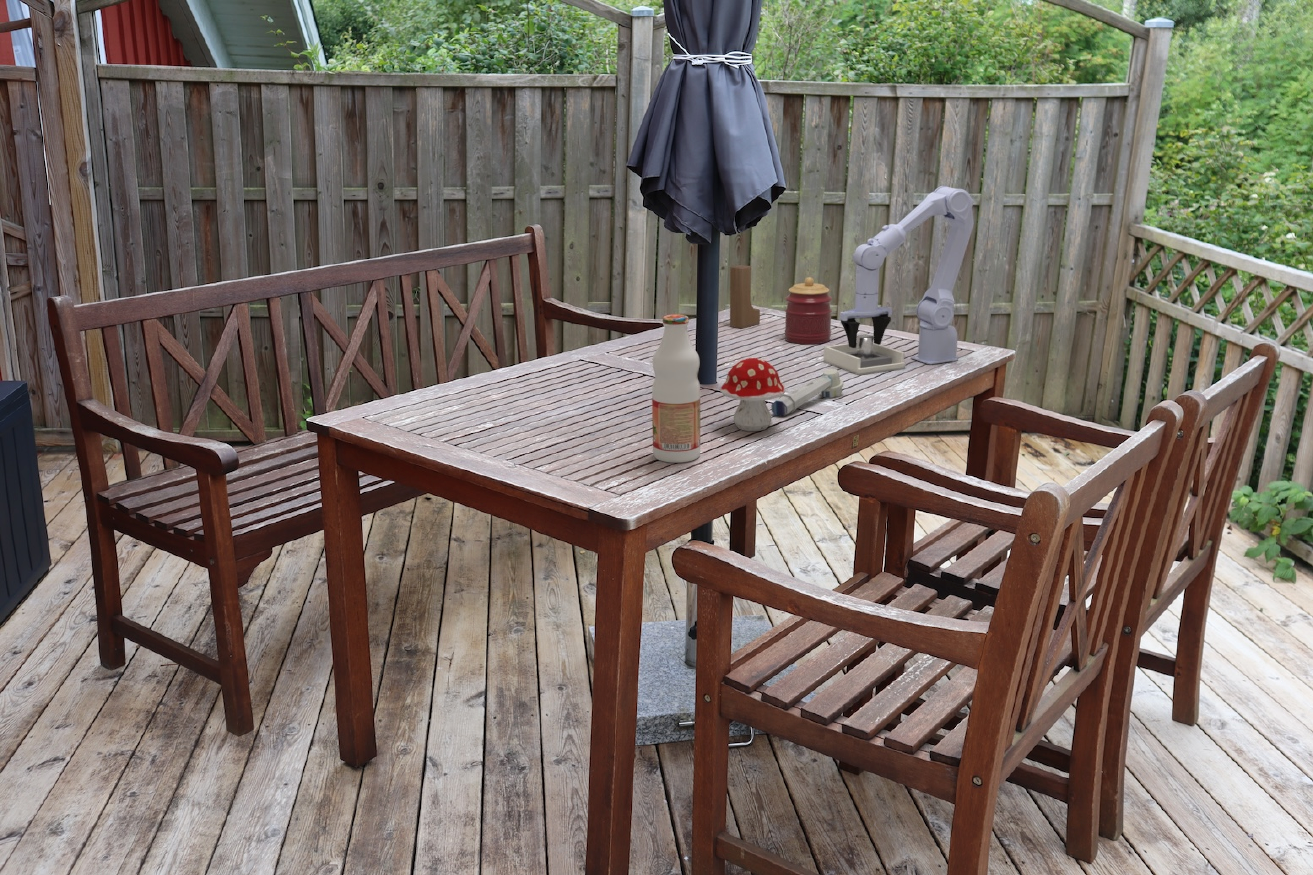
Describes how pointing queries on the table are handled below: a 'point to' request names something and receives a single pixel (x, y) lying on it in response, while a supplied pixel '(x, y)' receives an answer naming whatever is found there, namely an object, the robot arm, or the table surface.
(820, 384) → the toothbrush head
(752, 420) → the decorative mushroom
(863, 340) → the metal plug
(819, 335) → the canister
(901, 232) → the robot arm
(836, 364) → the walled box
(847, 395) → the table surface
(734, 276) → the wooden block
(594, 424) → the table surface
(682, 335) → the fruit juice
